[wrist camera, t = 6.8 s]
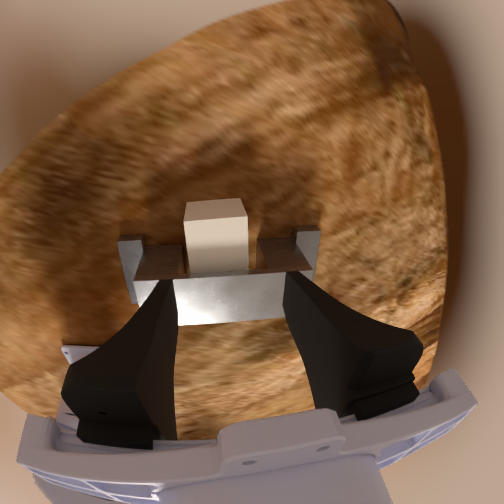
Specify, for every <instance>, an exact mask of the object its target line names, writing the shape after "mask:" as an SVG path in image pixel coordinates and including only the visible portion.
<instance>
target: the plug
mask: <svg viewBox="0 0 504 504" xmlns="http://www.w3.org/2000/svg"><path fill="white" fill-rule="evenodd" d="M184 230H185V237H186V245H187V253H188V260H189V267H190V273H206V272H223V271H239V270H249V259H248V216H247V213H246V211H245V209H244V206H243V204H242V201H241V199H240V198H232V199H219V200H207V201H195V202H187V203H186V209H185V216H184Z"/></svg>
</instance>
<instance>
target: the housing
mask: <svg viewBox="0 0 504 504" xmlns="http://www.w3.org/2000/svg"><path fill="white" fill-rule="evenodd" d="M320 233H321V231H320V229H319V228H318V227H317V226H297V227H294V228H293V238H276V239H257V248H256V269H254V270H239V271H223V272H206V273H189V274H185V269H184V261H183V251H182V244H165V245H149V246H145V241H144V235H143V234H142V235H128V236H120V237H119V239H118V241H117V245H118V250H119V254H120V259H121V263H122V267H123V272H124V276H125V280H126V284H127V288H128V292H129V295H130V299H131V303H132V304H134V303H139V307H141V306H142V304H143V303H144V301H145V300H146V299H147V297H148V296H149V294H150V293H151V292H152V290H153V289H154V287H155V285H156V284H157V282H158V281H159V280H161V279H173V285H174V291H175V297H176V303H177V309H178V325H193V324H210V323H224V322H237V321H249V320H260V319H270V318H279V317H285V314H284V310H283V306H282V303H283V294H284V285H285V276H286V272H287V271H299V272H301V273H302V274H303V275H304V276H306V277H307V278H308V279H309V280H311V281H312V282H313V279H314V273H315V266H316V260H317V254H318V247H319V240H320Z"/></svg>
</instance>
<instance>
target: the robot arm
mask: <svg viewBox="0 0 504 504" xmlns="http://www.w3.org/2000/svg"><path fill="white" fill-rule="evenodd" d="M282 306H283V310H284V314H285V317H286V321H287V324H288V326H289V329H290V331H291V333H292V336H293V338H294V341H295V343H296V345H297V348H298V350H299V352H300V355H301V357H302V360H303V363H304V366H305V369H306V373H307V376H308V380H309V384H310V387H311V391H312V395H313V400H314V404H315V409H313V410H308V411H303V412H298V413H293V414H287V415H281V416H275V417H269V418H262V419H254V420H246V421H242V422H237V423H232V424H230V425H228V426H226V427H224V428H222V429H221V430H220V431H219V433H218V435H217V439H210V440H179V441H178V440H177V431H176V420H175V406H174V363H175V354H176V345H177V336H178V309H177V303H176V297H175V291H174V285H173V279H161V280H159V281H158V282H157V284H156V285H155V287H154V289H153V290H152V292H151V293H150V294H149V296H148V297H147V299H146V300H145V301H144V303H143V304H142V306H141V307H140V308H139V309H138V311H137V312H136V313H135V314H134V315H133V317H132V318H131V319H130V320H129V321H128V322H127V324H126V325H125V326H124V327H123V328H122V329H121V330H120V331H118V332H117V333H116V334H115V335H114V336H113V337H111V338H110V339H109V340H108V341H107V342H105V343H104V344H103V345H101V346H100V347H93V346H73V345H62V347H61V350H62V352H63V353H64V355H65V357H66V358H67V360H68V362H69V363H70V366H69V369H68V371H67V374H66V377H65V380H64V384H63V387H62V391H61V400H60V404H59V407H58V411H57V415H56V417H55V419H54V417H52V416H48V417H46V418H45V417H41V416H37V415H33V414H27V418H26V421H25V425H24V429H23V432H22V437H21V441H20V445H19V450H18V455H17V459H16V461H17V462H18V463H19V464H20V465H22V466H23V467H25V468H27V469H28V470H29V471H31V472H33V478H34V479H35V484H36V485H37V487H38V488H39V489H40V490H41V491H42V493H43V494H44V495H45V496H46V497H47V498H48V499H49V500H50V501H51V502H52V504H393V503H392V500H391V498H390V495H389V493H388V490H387V488H386V486H385V483H384V481H383V478H382V476H381V473H380V471H379V470H380V469H383V468H384V467H387V466H389V465H391V464H393V463H395V462H396V461H399V460H401V459H403V458H404V457H406V456H408V455H410V454H412V453H413V452H415V451H417V450H419V449H421V448H422V447H424V446H425V445H428V444H429V443H431V442H433V441H434V440H436V439H437V438H439V437H441V436H443V435H444V434H446V433H447V432H449V431H451V430H452V429H453V428H454V427H455V426H456V425H457V424H458V423H459V422H460V421H461V420H462V419H463V418H464V417H465V416H466V415H467V414H468V413H469V412H470V411H471V410H472V409H473V408H474V407H475V406H476V405H477V404H478V402H477V400H476V399H475V397H474V396H473V394H472V393H471V391H470V390H469V388H468V387H467V385H466V384H465V382H464V381H463V379H462V378H461V377H460V375H459V374H458V373H457V371H456V370H455V368H451V369H449V370H447V371H445V372H443V373H441V374H439V375H437V376H436V377H435V378H434V379H433V380H432V382H431V383H430V385H429V386H428V387H426V388H424V389H421V390H419V391H418V389H417V388H416V386H415V384H414V383H413V381H414V380H415V376H414V375H413V373H412V371H413V369H414V368H415V366H416V365H417V363H418V361H419V360H420V358H421V356H422V353H423V348H424V347H423V344H422V343H421V341H420V340H419V339H418V337H417V336H416V335H415V333H414V332H413V331H410V330H406V329H402V328H398V327H394V326H391V325H388V324H385V323H382V322H379V321H377V320H374V319H372V318H369V317H367V316H365V315H363V314H361V313H359V312H357V311H355V310H353V309H351V308H349V307H347V306H346V305H344V304H342V303H341V302H339V301H338V300H336V299H335V298H333V297H332V296H330V295H329V294H328V293H326V292H325V291H324V290H322V289H321V288H320V287H318V286H317V285H316V284H315V283H313V282H312V281H311V280H309V279H308V278H307V277H306V276H304V275H303V274H302V273H301V272H299V271H287V272H286V276H285V285H284V294H283V303H282Z"/></svg>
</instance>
